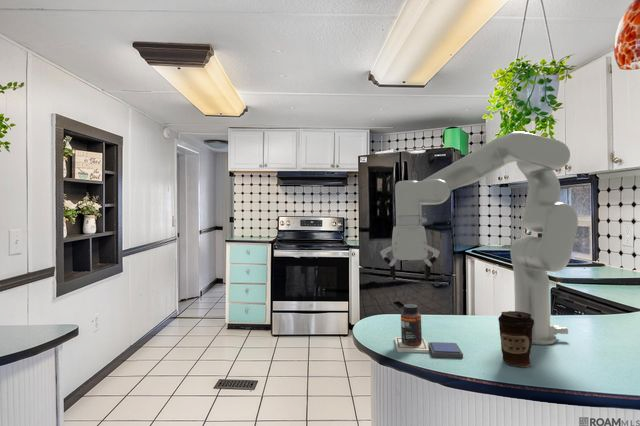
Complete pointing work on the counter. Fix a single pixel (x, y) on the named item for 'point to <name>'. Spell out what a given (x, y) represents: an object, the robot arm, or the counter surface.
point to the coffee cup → (516, 337)
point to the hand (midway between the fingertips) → (410, 278)
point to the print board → (405, 348)
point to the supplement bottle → (411, 326)
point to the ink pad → (445, 350)
